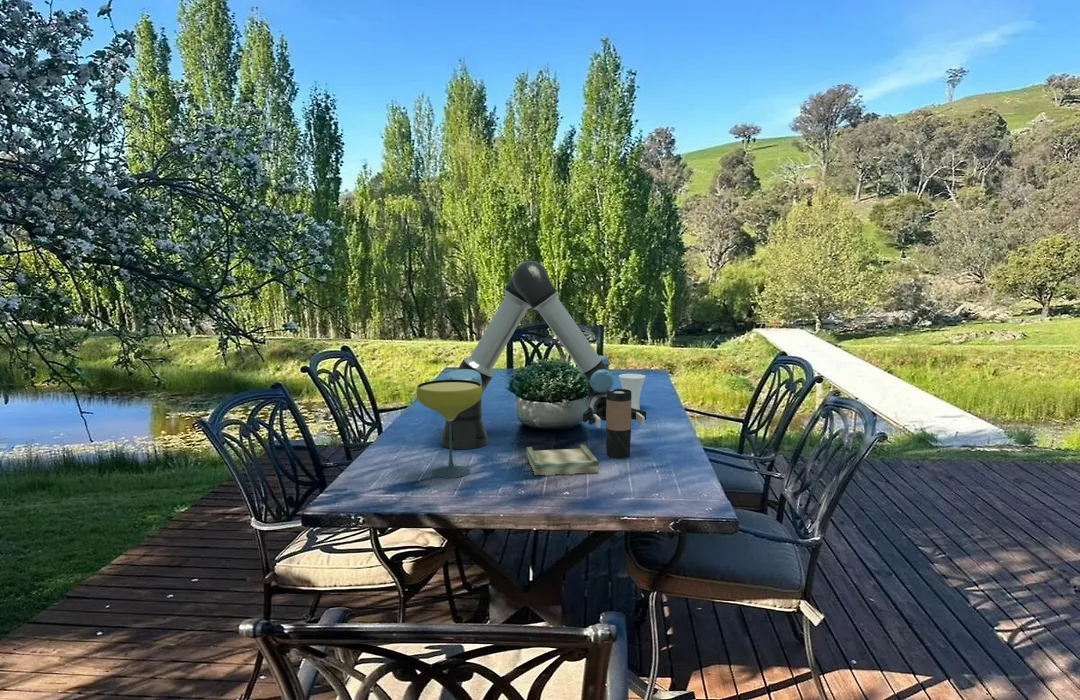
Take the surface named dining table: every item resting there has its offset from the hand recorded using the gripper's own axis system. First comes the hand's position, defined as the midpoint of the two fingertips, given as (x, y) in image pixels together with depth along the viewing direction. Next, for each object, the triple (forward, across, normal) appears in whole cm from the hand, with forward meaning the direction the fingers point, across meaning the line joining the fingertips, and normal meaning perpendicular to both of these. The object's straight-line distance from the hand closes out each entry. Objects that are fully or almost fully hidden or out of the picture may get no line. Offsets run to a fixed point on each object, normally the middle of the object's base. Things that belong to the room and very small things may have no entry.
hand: (621, 422), depth 206 cm
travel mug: (-3, 0, -11) cm, 12 cm away
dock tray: (+4, +19, -11) cm, 22 cm away
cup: (-64, -22, -11) cm, 69 cm away
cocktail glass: (+6, +51, -11) cm, 53 cm away
